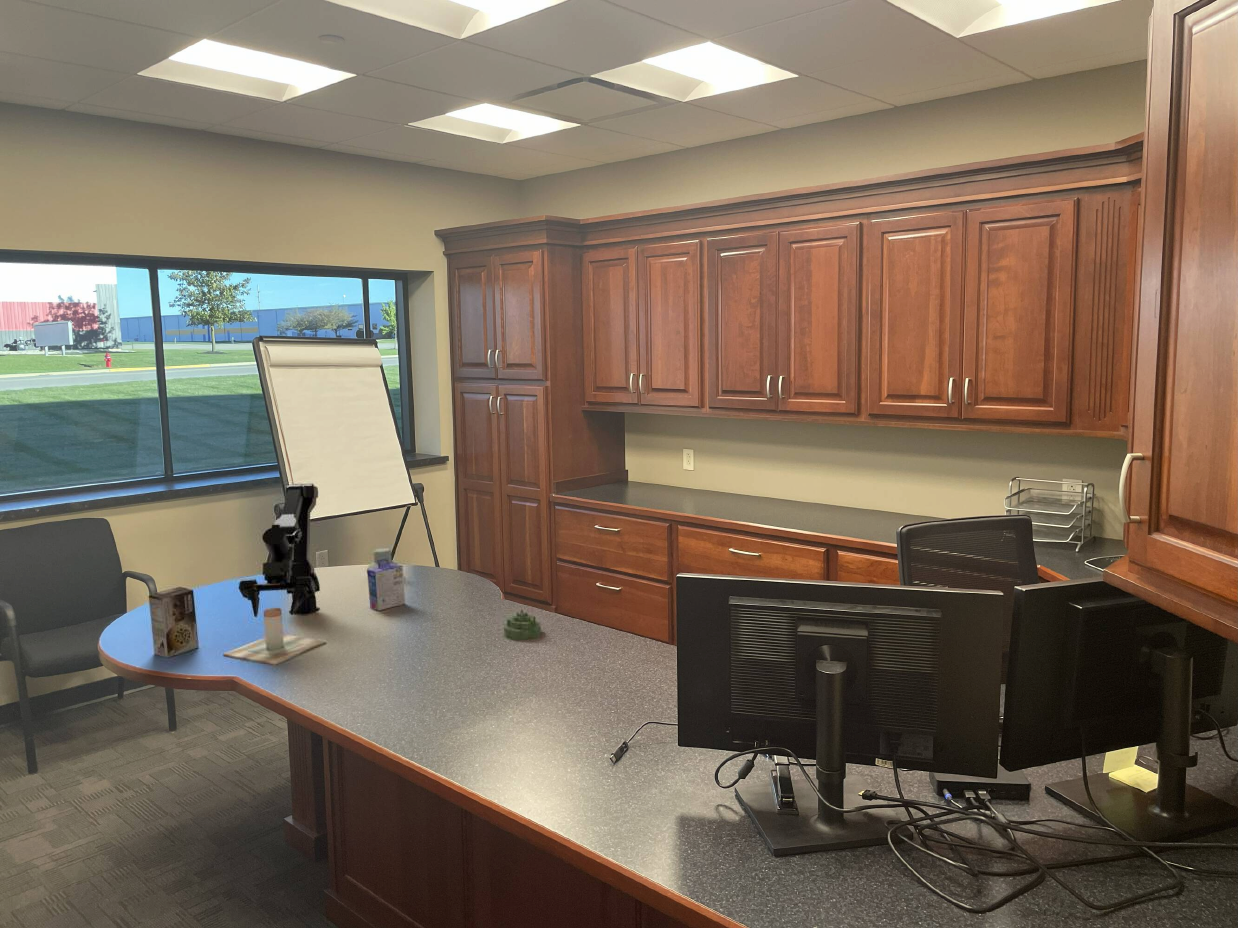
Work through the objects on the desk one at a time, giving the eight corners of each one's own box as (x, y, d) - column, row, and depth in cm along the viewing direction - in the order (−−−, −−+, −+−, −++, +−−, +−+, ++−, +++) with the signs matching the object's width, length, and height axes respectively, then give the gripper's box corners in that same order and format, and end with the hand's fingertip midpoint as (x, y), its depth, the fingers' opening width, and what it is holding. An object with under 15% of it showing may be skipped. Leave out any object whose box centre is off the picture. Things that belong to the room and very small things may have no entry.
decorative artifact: (513, 627, 253) (498, 638, 244) (512, 603, 252) (497, 613, 243) (546, 630, 250) (532, 641, 241) (545, 605, 249) (531, 616, 240)
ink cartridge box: (396, 600, 281) (394, 555, 279) (406, 604, 277) (403, 558, 275) (368, 607, 274) (365, 561, 272) (378, 611, 270) (375, 564, 268)
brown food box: (184, 643, 244) (179, 586, 242) (199, 647, 241) (194, 589, 238) (152, 654, 236) (147, 594, 234) (167, 658, 233) (162, 597, 231)
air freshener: (392, 573, 315) (391, 545, 314) (403, 577, 309) (402, 549, 308) (363, 578, 308) (361, 550, 307) (374, 583, 302) (372, 554, 301)
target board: (223, 655, 234) (223, 653, 234) (276, 634, 250) (276, 632, 250) (274, 664, 226) (274, 662, 226) (325, 642, 242) (325, 640, 242)
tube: (264, 645, 239) (262, 609, 237) (281, 642, 241) (279, 606, 240) (267, 650, 235) (265, 613, 234) (285, 647, 237) (282, 611, 236)
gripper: (237, 550, 239) (228, 602, 230) (310, 547, 241) (303, 598, 232) (248, 571, 248) (239, 622, 239) (318, 568, 250) (312, 618, 241)
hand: (273, 615), depth 237 cm, fingers open, 9 cm apart
